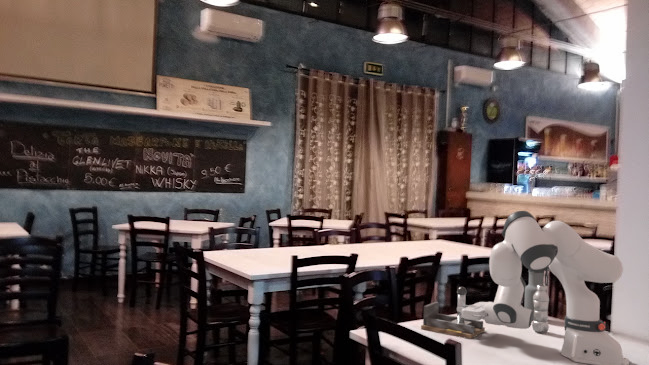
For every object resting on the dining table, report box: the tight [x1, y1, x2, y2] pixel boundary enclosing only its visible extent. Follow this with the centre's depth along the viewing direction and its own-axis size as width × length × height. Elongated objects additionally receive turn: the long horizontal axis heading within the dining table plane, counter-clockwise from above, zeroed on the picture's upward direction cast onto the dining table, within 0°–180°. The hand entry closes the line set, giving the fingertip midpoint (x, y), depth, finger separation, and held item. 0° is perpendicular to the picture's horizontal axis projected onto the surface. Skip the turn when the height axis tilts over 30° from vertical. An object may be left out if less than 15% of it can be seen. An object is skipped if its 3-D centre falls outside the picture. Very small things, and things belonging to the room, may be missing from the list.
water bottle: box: [523, 266, 550, 322], centre depth 256 cm, size 10×10×28 cm
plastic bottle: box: [531, 284, 550, 334], centre depth 233 cm, size 6×7×20 cm
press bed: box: [420, 301, 486, 340], centre depth 232 cm, size 22×16×10 cm
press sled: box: [451, 286, 472, 326], centre depth 230 cm, size 7×8×17 cm
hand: (459, 307), depth 230 cm, fingers closed on press sled, 3 cm apart
